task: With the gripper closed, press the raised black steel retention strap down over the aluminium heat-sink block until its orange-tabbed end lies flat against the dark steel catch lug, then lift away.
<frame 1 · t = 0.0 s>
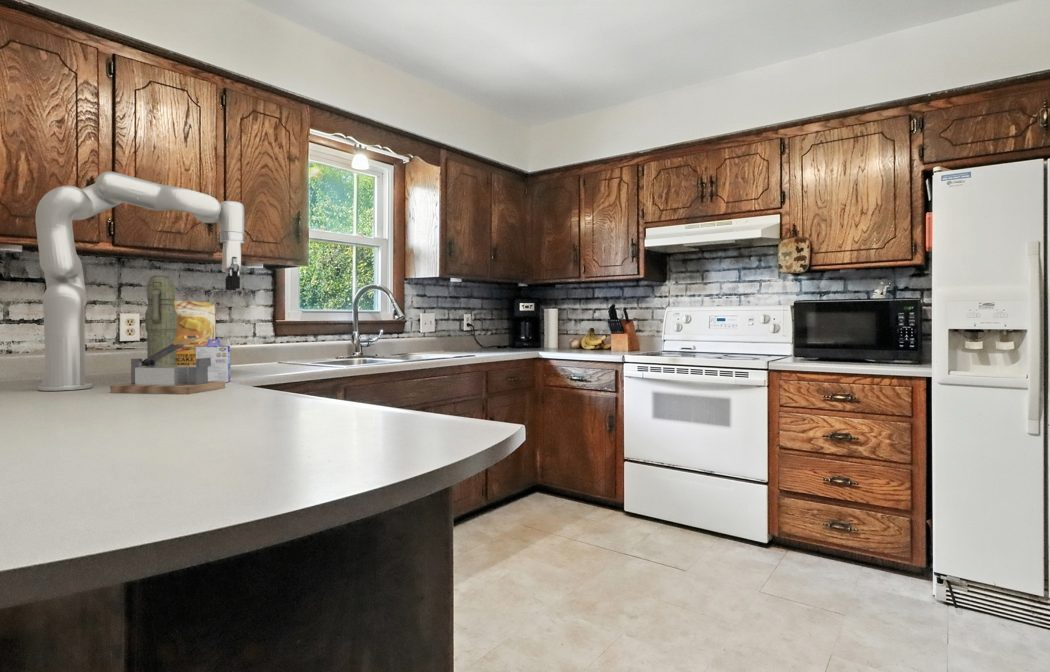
hand: (232, 289, 199), 31 cm above the countertop, tool pointing down, fingers open, 9 cm apart
green stone totem: (162, 384, 192), on the countertop
retention strap: (166, 351, 172), point 11 cm above the countertop, hinge at 28.0°
pancake mix bag: (186, 380, 206), on the countertop
heat sink: (169, 374, 172), on the wooden board, point 4 cm above the countertop
hinge bracket: (144, 370, 173), on the wooden board, point 6 cm above the countertop
ink cartridge box: (213, 383, 196), on the countertop
wooden board: (169, 390, 172), on the countertop
catch lug: (199, 371, 171), on the wooden board, point 6 cm above the countertop
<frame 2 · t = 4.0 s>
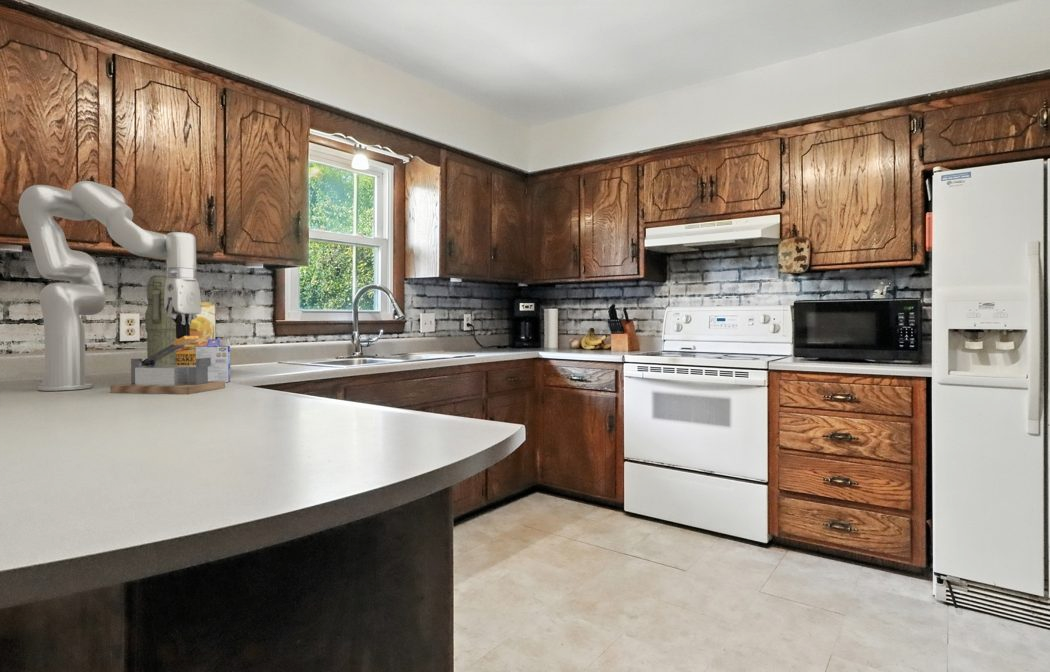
hand: (183, 338, 171), 15 cm above the countertop, tool pointing down, fingers closed
retention strap: (166, 351, 172), point 11 cm above the countertop, hinge at 27.4°, touching gripper
everything else where it was.
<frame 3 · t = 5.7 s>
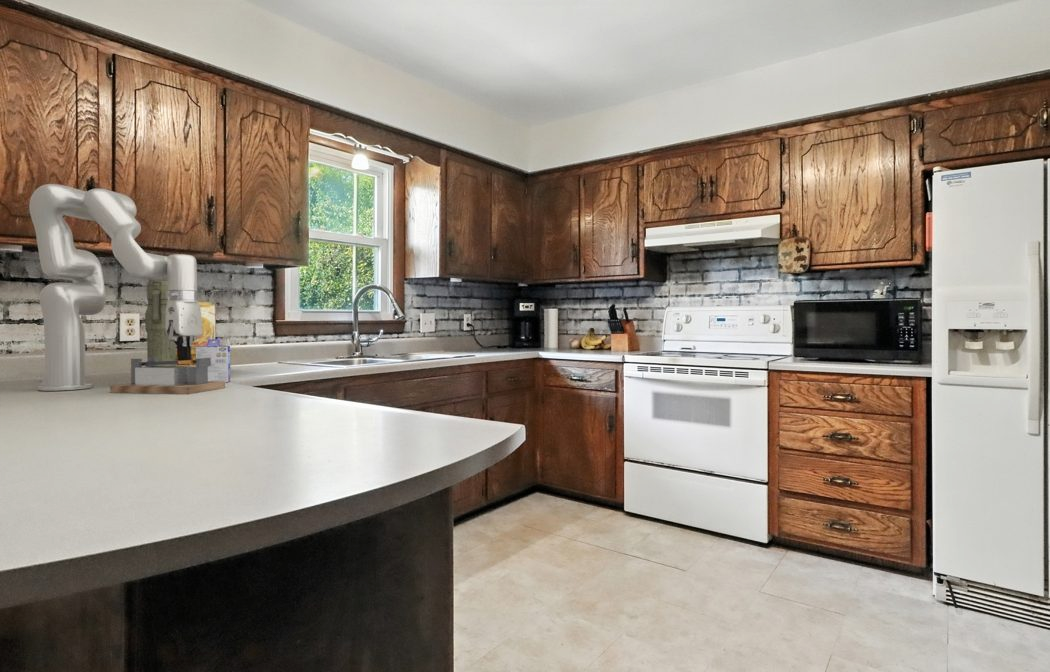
hand: (184, 360, 171), 9 cm above the countertop, tool pointing down, fingers closed
retention strap: (169, 362, 172), point 8 cm above the countertop, hinge at 3.0°, touching gripper
everything else where it was.
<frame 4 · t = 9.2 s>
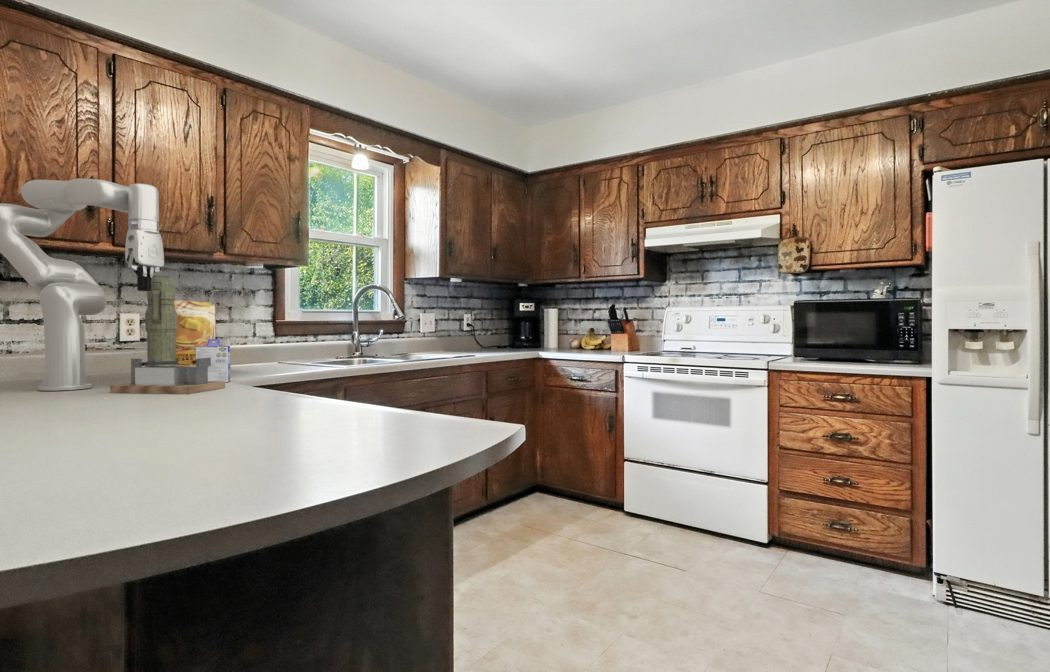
hand: (144, 290, 171), 29 cm above the countertop, tool pointing down, fingers closed
retention strap: (169, 362, 172), point 8 cm above the countertop, hinge at 2.8°
everything else where it was.
at the end: retention strap at +3° (first picture: +28°); green stone totem moved 0.2 cm from its start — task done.
